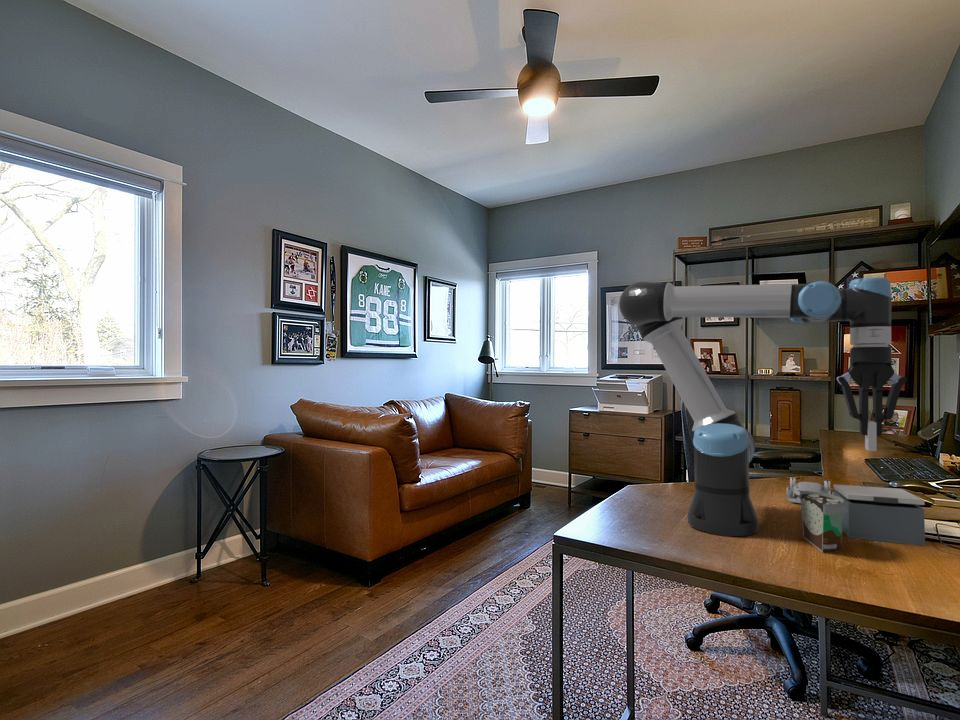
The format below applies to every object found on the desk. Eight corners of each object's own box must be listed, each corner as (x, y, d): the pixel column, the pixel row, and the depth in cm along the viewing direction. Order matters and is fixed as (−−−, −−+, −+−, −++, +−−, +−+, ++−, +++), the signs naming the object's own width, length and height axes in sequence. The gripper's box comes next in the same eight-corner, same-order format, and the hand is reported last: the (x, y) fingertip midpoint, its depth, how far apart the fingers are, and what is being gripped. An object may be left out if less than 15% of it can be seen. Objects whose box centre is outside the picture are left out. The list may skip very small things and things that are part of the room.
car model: (832, 491, 153) (831, 475, 153) (835, 511, 132) (835, 492, 133) (788, 487, 159) (788, 471, 159) (785, 506, 138) (785, 487, 139)
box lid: (848, 499, 111) (848, 495, 111) (833, 488, 124) (833, 484, 124) (926, 505, 105) (926, 500, 106) (901, 493, 119) (901, 488, 119)
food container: (861, 557, 100) (859, 505, 101) (825, 555, 102) (824, 504, 102) (831, 536, 113) (830, 490, 113) (800, 535, 114) (799, 489, 114)
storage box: (849, 537, 111) (848, 503, 112) (834, 519, 124) (834, 488, 124) (925, 545, 106) (924, 509, 106) (901, 526, 119) (901, 493, 119)
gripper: (839, 346, 116) (840, 450, 116) (912, 345, 111) (912, 454, 111) (832, 347, 123) (832, 445, 123) (900, 346, 118) (900, 449, 117)
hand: (870, 450), depth 117 cm, fingers closed
